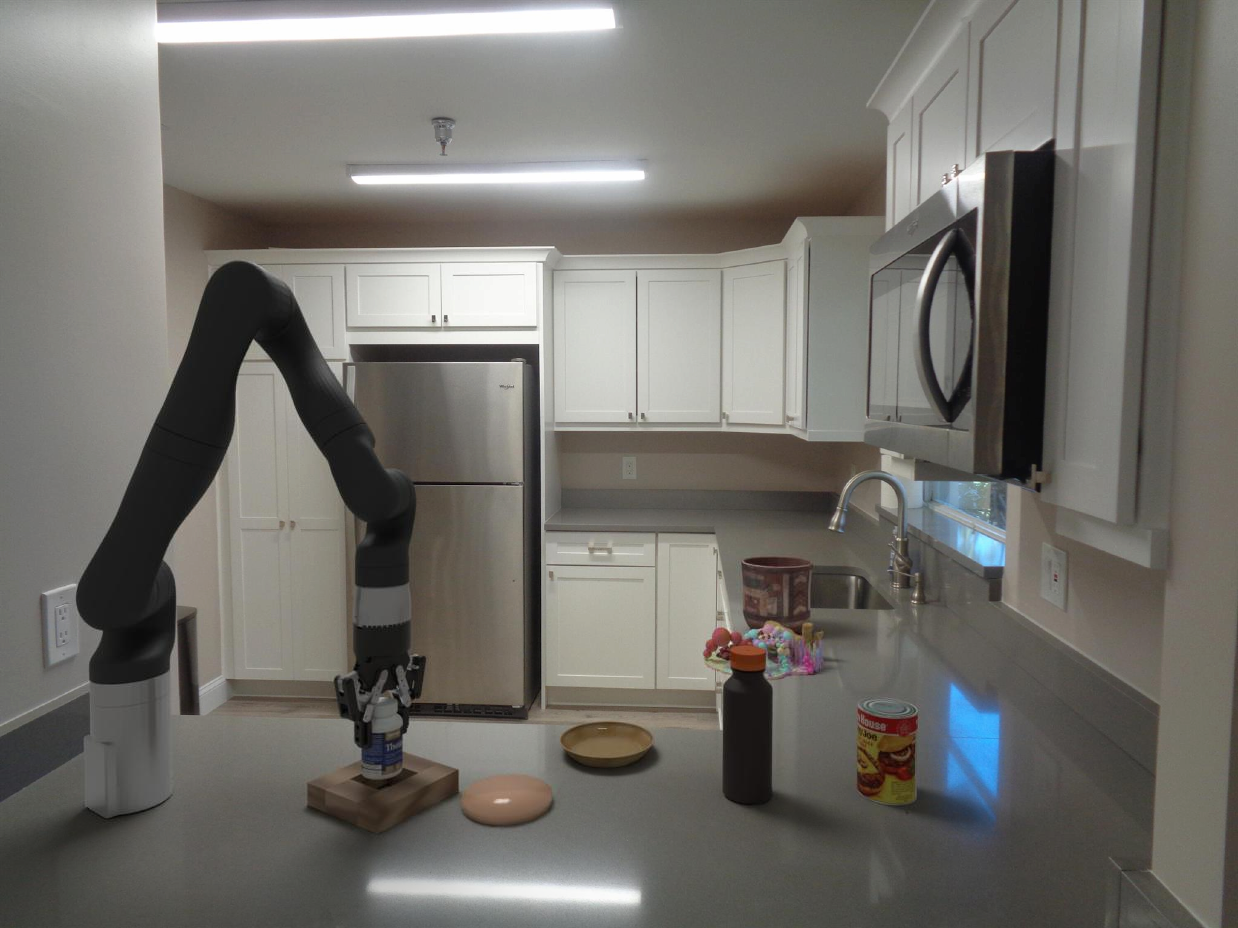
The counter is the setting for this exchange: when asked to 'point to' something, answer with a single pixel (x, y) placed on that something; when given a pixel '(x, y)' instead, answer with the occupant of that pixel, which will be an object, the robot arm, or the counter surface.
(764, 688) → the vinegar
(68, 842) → the counter surface
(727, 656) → the candy landscape model
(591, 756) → the plant saucer
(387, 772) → the pill bottle
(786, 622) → the pottery
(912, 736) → the canned food
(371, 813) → the block
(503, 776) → the salmon pink disc
